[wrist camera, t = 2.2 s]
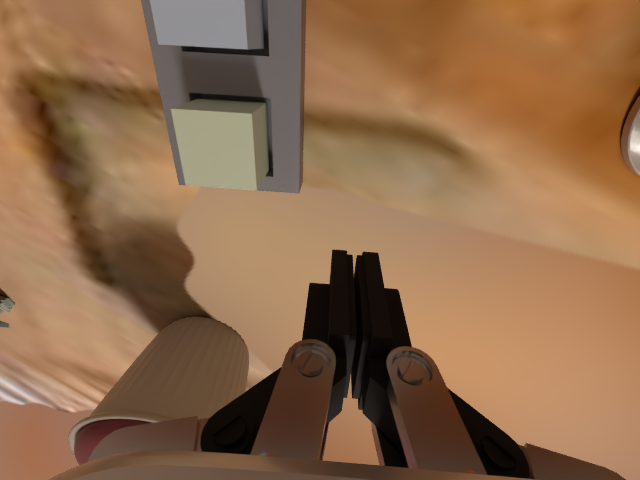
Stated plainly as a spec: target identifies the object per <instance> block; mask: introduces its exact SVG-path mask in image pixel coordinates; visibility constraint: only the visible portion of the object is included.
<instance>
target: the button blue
mask: <svg viewBox="0 0 640 480" xmlns="http://www.w3.org/2000/svg"><path fill="white" fill-rule="evenodd" d="M150 4H151V9H152V14H153V19H154V24H155V30H156V35H157V40H158V44H159V45H177V46H194V47H212V48H230V49H247V50H248V49H264V35H263V11H262V0H150Z"/></svg>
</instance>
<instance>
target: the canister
mask: <svg viewBox="0 0 640 480" xmlns="http://www.w3.org/2000/svg"><path fill="white" fill-rule="evenodd" d="M248 369H249V353H248V349H247V346H246V344H245V342H244V340H243V339H242V338H241V336H240V335H239V334H238V333H237V332H236V331H235V330H233V329H232V328H231V327H229V326H227V325H226V324H224V323H222V322H220V321H217V320H215V319H210V318H208V317H206V318H204V317H195V316H194V317H186V318H183V319H179V320H177V321H174V322H172V323H171V324H169V325H168V326H166V327H165V328H164V329H163V330H162V331H161V332H160V333H159V334H158V335H157V336H156V337H155V338H154V339H153V340H152V341H151V343H150V344H149V345H148V346H147V347H146V348H145V350H144V351H143V352H142V353H141V354H140V355H139V356H138V358H137V359H136V360H135V361H134V362H133V364H132V365H131V366H130V367H129V368H128V370H127V371H126V372H125V373H124V374H123V376H122V377H121V378H120V379H119V381H118V382H117V383H116V384H115V385H114V387H113V388H112V389H111V390H110V391H109V393H108V394H107V395H106V396H105V397H104V399H103V400H102V401H101V402H100V404H99V405H98V406H97V407H96V409H95V410H94V411H93V412H92V414H91V415H90V416H89V417H86V418H84V419H82V420H81V421H79V422H78V423H77V424H75V425H74V426H73V428H72V429H71V431H70V432H69V435H68V442H69V446H70V448H71V450H72V452H73V453H74V455H75V457H76V459H77V461H78V463H79V465H82V464H84V463H87V462H88V460H89V457H90V456H91V454H92V452H93V450H94V449H95V447H96V446H97V445H98V444H99V443H100V442H101V441H102V439H103V438H104V437H106V436H107V435H109V434H110V433H112V432H114V431H115V430H118V429H121V428H124V427H129V426H136V425H142V424H149V423H155V422H162V421H168V420H174V419H181V418H187V417H194V416H198V417H199V419H204V418H210V417H211V416H212V415H214V414H215V413H216V412H217V411H218V410H220V409H221V408H223V407H224V406H226V405H227V404H229V403H230V402H231V401H233V400H234V399H236V398H237V397H239V396H240V395H242V394H243V393H245V390H246V383H247V376H248Z"/></svg>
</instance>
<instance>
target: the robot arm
mask: <svg viewBox="0 0 640 480" xmlns="http://www.w3.org/2000/svg"><path fill="white" fill-rule="evenodd" d="M621 152H622V155H623V158H624V161H625V163H626V164H627V166H628V167H629V168H630V170H631V171H633V172H634V173H635V174H637V175H638V176H640V96H639V97H638V98H637V100H636V102H635V103H634V105H633V107H632V109H631V110H630V112H629V114H628V117H627V119H626V122H625V124H624V127H623V132H622V137H621ZM350 375H351V381H352V382H351V383H352V398H356V399H358V409H359V410H363V414H364V415H365V416H366V417H367V418H368V419H369V420H370V421H371V427H372V433H373V438H374V442H375V447H376V451H377V456H378V460H379V465H380V466H379V465H367V464H355V463H354V464H353V463H342V462H332V461H323V456H324V450H325V444H326V439H327V434H328V428H329V422H330V421H331V420H332V419H333V418H334V417H336V416H337V415H338V414H339V413H340V412H341V411H342V404H343V398H347V394H348V388H349V381H350ZM50 480H626V479H624V478H622V476H620V475H619V474H617V473H615V472H614V471H611V470H609V469H607V468H605V467H602V466H598V465H595V464H592V463H589V462H585V461H582V460H579V459H576V458H573V457H569V456H566V455H563V454H560V453H556V452H553V451H550V450H547V449H544V448H541V447H537V446H534V445H531V444H527V443H526V444H525V445H524V446H521V445H518V444H517V443H516V442H515V441H514V440H513V439H512V438H511V437H510V436H508V435H507V434H506V433H505V432H503V431H502V430H501V429H500V428H498V427H497V426H496V425H494V424H493V423H492V422H491V421H489V420H488V419H487V418H485V417H484V416H483V415H482V414H480V413H479V412H478V411H476V410H475V409H474V408H473V407H471V406H470V405H469V404H467V403H466V402H465V401H464V400H462V399H461V398H460V397H458V396H457V395H456V394H455V393H453V392H452V391H451V390H450V389H448V388H447V387H446V385H445V382H444V380H443V378H442V376H441V374H440V372H439V369H438V367H437V365H436V364H435V362H434V361H433V360H432V358H431V357H430V356H429V355H427V354H426V353H424V352H423V351H421V350H419V349H416V348H413V347H412V346H411V341H410V337H409V333H408V328H407V325H406V320H405V316H404V311H403V307H402V303H401V299H400V294H399V291H398V290H397V289H388V288H384V283H383V278H382V272H381V266H380V261H379V255H378V253H373V252H363V253H362V256H361V255H357V258H356V266H355V273H354V274H353V257H352V255H347V251H344V250H332V261H331V274H330V284H319V283H310V285H309V292H308V299H307V308H306V315H305V322H304V330H303V338H302V341H299V342H297V343H295V344H294V345H293V346H292V347H290V348H289V350H288V352H287V354H286V356H285V359H284V362H283V365H282V367H281V368H279V369H278V370H276V371H275V372H274V373H272V374H271V375H269V376H268V377H266V378H265V379H263V380H262V381H260V382H259V383H258V384H256V385H255V386H253V387H252V388H250V389H249V390H247V391H246V392H245V393H243V394H242V395H240V396H239V397H237V398H236V399H234V400H233V401H231V402H230V403H229V404H227V405H226V406H224V407H223V408H221V409H220V410H218V411H217V412H216V413H215V414H214V415H212V416H211V417H210V418H204V419H199V417H198V416H194V417H187V418H181V419H174V420H168V421H162V422H155V423H149V424H142V425H136V426H129V427H124V428H121V429H118V430H115V431H114V432H112V433H110V434H109V435H107V436H106V437H104V438H103V439H102V441H101V442H100V443H99V444H98V445H97V446H96V447H95V449H94V450H93V452H92V454H91V456H90V457H89V460H88V462H87V463H84V464H82V465H79V466H76V467H73V468H71V469H69V470H67V471H65V472H63V473H60V474H58V475H56V476H54V477H53V478H51V479H50Z"/></svg>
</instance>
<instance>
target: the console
mask: <svg viewBox="0 0 640 480" xmlns="http://www.w3.org/2000/svg"><path fill="white" fill-rule="evenodd" d="M141 2H142V7H143V12H144V17H145V22H146V26H147V31H148V36H149V41H150V46H151V51H152V56H153V60H154V65H155V70H156V75H157V80H158V85H159V90H160V95H161V99H162V104H163V109H164V114H165V119H166V124H167V129H168V134H169V138H170V143H171V148H172V153H173V158H174V163H175V168H176V173H177V177H178V182H179V185H185V180H184V174H183V169H182V164H181V159H180V154H179V149H178V143H177V138H176V133H175V128H174V123H173V118H172V112H171V108H174V107H177V106H179V105H182V104H185V103H187V102H190V101H193V100H195V99H213V100H229V101H245V102H261V103H266V108H267V132H268V156H269V171H268V172H267V174H266V176H265V177H264V179H263V181H262V183H261V184H260V186H259V188H258V189H257V190H259V191H274V192H288V193H299V192H300V189H301V186H302V182H303V132H304V78H305V24H306V0H262V11H263V35H264V49H248V50H247V49H230V48H212V47H194V46H177V45H159V44H158V40H157V35H156V30H155V24H154V19H153V14H152V9H151V4H150V0H141Z"/></svg>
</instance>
